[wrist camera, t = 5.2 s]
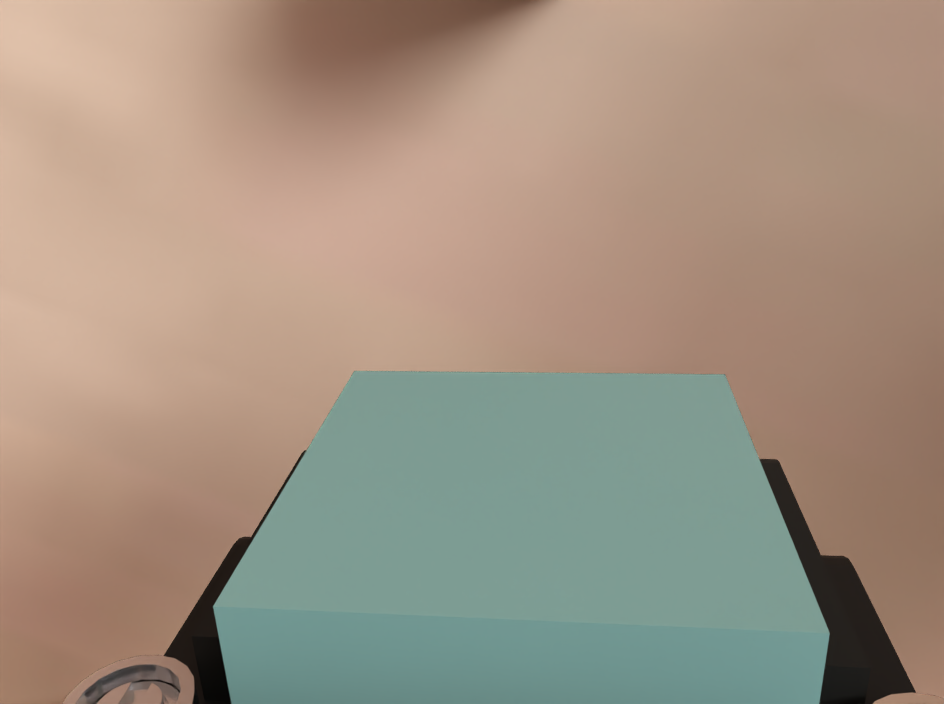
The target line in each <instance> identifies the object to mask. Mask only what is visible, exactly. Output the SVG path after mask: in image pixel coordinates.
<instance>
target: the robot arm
mask: <svg viewBox="0 0 944 704" xmlns="http://www.w3.org/2000/svg"><path fill="white" fill-rule="evenodd" d="M306 451H307V450H305V451H304V452H303V453H302V454H301V456H300V457H299V459H298V461H297V462H296V464H295V466H294V467H293V469H292V471H291V472H290V474H289V476H288V477H287V479H286V480H285V482H284V484H283V485H282V487H281V489H280V490H279V492H278V494H277V495H276V497H275V499H274V500H273V502H272V504H271V505H270V507H269V509H268V510H267V512H266V514H265V515H264V517H263V519H262V520H261V522H260V523H259V525H258V527H257V528H256V530H255V532H254V533H253V535H252V537H242V538H239V539H238V540H237V541H236V543H235V544H234V545H233V546H232V548H231V550H230V551H229V553H228V554H227V556H226V558H225V559H224V561H223V562H222V564H221V566H220V567H219V569H218V570H217V572H216V573H215V575H214V577H213V578H212V580H211V581H210V583H209V585H208V586H207V588H206V589H205V591H204V593H203V594H202V596H201V597H200V599H199V600H198V602H197V604H196V605H195V607H194V608H193V610H192V612H191V613H190V615H189V616H188V618H187V620H186V621H185V623H184V624H183V626H182V628H181V629H180V631H179V632H178V634H177V635H176V637H175V639H174V640H173V642H172V643H171V645H170V647H169V648H168V650H167V651H166V653H165V655H164V656H161V655H144V656H136V657H132V658H128V659H124V660H119V661H117V662H115V663H112V664H110V665H108V666H106V667H103V668H101V669H99V670H97V671H96V672H94V673H93V674H91V675H90V676H88V677H87V678H85V679H84V680H82V681H81V682H80V683H79V684H78V685H77V686H76V687H75V688H74V689H73V690H72V691H71V692H70V693H69V694H68V695H67V696H66V698H65V700H64V702H63V703H62V704H231V699H230V694H229V688H228V683H227V678H226V672H225V667H224V662H223V656H222V651H221V646H220V641H219V635H218V630H217V625H216V619H215V614H214V609H213V606H214V604H215V602H216V601H217V599H218V597H219V596H220V594H221V592H222V591H223V589H224V587H225V586H226V584H227V582H228V581H229V579H230V577H231V576H232V574H233V572H234V571H235V569H236V567H237V566H238V564H239V562H240V561H241V559H242V557H243V556H244V554H245V552H246V551H247V549H248V547H249V546H250V544H251V542H252V541H253V539H254V537H255V536H256V534H257V532H258V531H259V529H260V527H261V526H262V524H263V522H264V521H265V519H266V517H267V516H268V514H269V512H270V511H271V509H272V507H273V506H274V504H275V502H276V501H277V499H278V497H279V496H280V494H281V492H282V491H283V489H284V487H285V486H286V484H287V482H288V481H289V479H290V477H291V476H292V474H293V472H294V471H295V469H296V467H297V466H298V464H299V462H300V461H301V459H302V457H303V456H304V454H305V452H306ZM759 460H760V462H761V465H762V467H763V470H764V472H765V475H766V477H767V480H768V482H769V484H770V487H771V489H772V492H773V494H774V497H775V499H776V502H777V504H778V507H779V509H780V512H781V514H782V517H783V519H784V522H785V524H786V526H787V529H788V531H789V534H790V536H791V539H792V541H793V544H794V546H795V549H796V551H797V554H798V556H799V559H800V561H801V564H802V566H803V568H804V571H805V573H806V576H807V578H808V581H809V583H810V586H811V588H812V591H813V593H814V596H815V598H816V601H817V603H818V606H819V608H820V611H821V613H822V615H823V618H824V620H825V623H826V625H827V628H828V630H829V633H830V635H829V642H828V648H827V655H826V662H825V668H824V675H823V682H822V688H821V695H820V702H819V704H944V698H941V697H938V696H934V695H927V694H919V693H916V692H915V690H914V688H913V686H912V684H911V682H910V680H909V678H908V676H907V674H906V672H905V670H904V668H903V666H902V664H901V662H900V660H899V657H898V655H897V653H896V651H895V649H894V647H893V645H892V643H891V641H890V639H889V637H888V635H887V633H886V631H885V629H884V627H883V625H882V623H881V621H880V619H879V617H878V615H877V613H876V611H875V609H874V607H873V605H872V603H871V601H870V599H869V597H868V595H867V593H866V591H865V589H864V587H863V585H862V583H861V581H860V579H859V577H858V575H857V573H856V571H855V568H854V566H853V565H852V563H851V562H850V560H849V559H848V558H846V557H844V556H824V555H820V553H819V550H818V548H817V546H816V544H815V541H814V539H813V537H812V535H811V532H810V530H809V528H808V526H807V523H806V521H805V519H804V517H803V514H802V512H801V510H800V508H799V505H798V503H797V501H796V499H795V496H794V494H793V492H792V490H791V487H790V485H789V483H788V481H787V478H786V476H785V474H784V472H783V469H782V467H781V465H780V463H779V461H778V460H775V459H759Z"/></svg>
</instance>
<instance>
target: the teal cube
mask: <svg viewBox="0 0 944 704" xmlns="http://www.w3.org/2000/svg"><path fill="white" fill-rule="evenodd" d="M213 609H214V614H215V619H216V625H217V630H218V635H219V641H220V646H221V651H222V656H223V662H224V667H225V672H226V678H227V683H228V688H229V694H230V699H231V704H819V702H820V695H821V688H822V682H823V675H824V668H825V662H826V655H827V648H828V642H829V635H830V633H829V630H828V628H827V625H826V623H825V620H824V618H823V615H822V613H821V611H820V608H819V606H818V603H817V601H816V598H815V596H814V593H813V591H812V588H811V586H810V583H809V581H808V578H807V576H806V573H805V571H804V568H803V566H802V564H801V561H800V559H799V556H798V554H797V551H796V549H795V546H794V544H793V541H792V539H791V536H790V534H789V531H788V529H787V526H786V524H785V522H784V519H783V517H782V514H781V512H780V509H779V507H778V504H777V502H776V499H775V497H774V494H773V492H772V489H771V487H770V484H769V482H768V480H767V477H766V475H765V472H764V470H763V467H762V465H761V462H760V460H759V457H758V455H757V452H756V450H755V447H754V445H753V442H752V440H751V438H750V435H749V433H748V430H747V428H746V425H745V423H744V420H743V418H742V415H741V413H740V410H739V408H738V405H737V403H736V400H735V398H734V396H733V393H732V391H731V388H730V386H729V383H728V381H727V378H726V376H725V374H633V373H524V372H415V371H354V372H353V374H352V376H351V377H350V379H349V381H348V382H347V384H346V386H345V387H344V389H343V391H342V392H341V394H340V396H339V397H338V399H337V401H336V402H335V404H334V406H333V407H332V409H331V411H330V412H329V414H328V416H327V417H326V419H325V421H324V422H323V424H322V426H321V427H320V429H319V431H318V432H317V434H316V436H315V437H314V439H313V441H312V442H311V444H310V446H309V447H308V449H307V451H306V452H305V454H304V456H303V457H302V459H301V461H300V462H299V464H298V466H297V467H296V469H295V471H294V472H293V474H292V476H291V477H290V479H289V481H288V482H287V484H286V486H285V487H284V489H283V491H282V492H281V494H280V496H279V497H278V499H277V501H276V502H275V504H274V506H273V507H272V509H271V511H270V512H269V514H268V516H267V517H266V519H265V521H264V522H263V524H262V526H261V527H260V529H259V531H258V532H257V534H256V536H255V537H254V539H253V541H252V542H251V544H250V546H249V547H248V549H247V551H246V552H245V554H244V556H243V557H242V559H241V561H240V562H239V564H238V566H237V567H236V569H235V571H234V572H233V574H232V576H231V577H230V579H229V581H228V582H227V584H226V586H225V587H224V589H223V591H222V592H221V594H220V596H219V597H218V599H217V601H216V602H215V604H214V606H213Z"/></svg>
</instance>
